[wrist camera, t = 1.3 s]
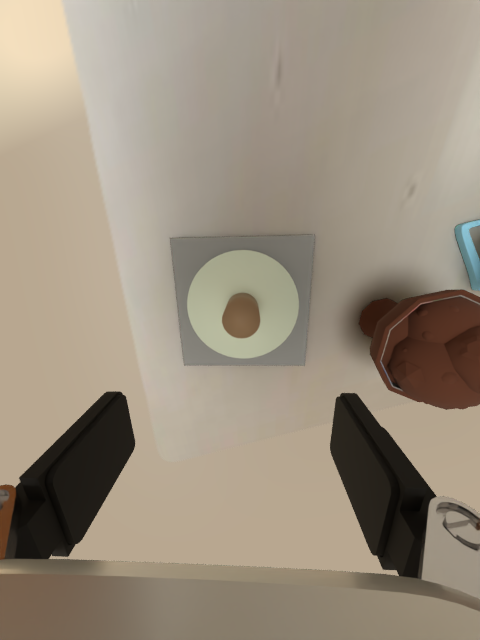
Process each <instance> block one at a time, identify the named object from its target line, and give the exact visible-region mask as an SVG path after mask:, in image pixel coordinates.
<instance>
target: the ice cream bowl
mask: <svg viewBox="0 0 480 640" xmlns="http://www.w3.org/2000/svg"><path fill="white" fill-rule="evenodd" d="M359 325H360V327H361V329H362V331H363V333H364V334H365V335H367V336H370V337H372V338H373V339H372V343H371V346H370V355H371V357H372V359H373V361H374V363H375V365H376V367H377V369H378V371H379V374H380V376H381V378H382V380H383V381H384V383H385V385H386V386H387V388H388V390H390V391H392V392H395V393H397V394H400V395H402V396H405V397H407V398H410V399H412V400H415V401H417V402H424V403H426V404H430V405H433V406H435V407H439V408H443V409H446V410H447V409H455V408H458V409H465V408H468V407H470V406H477V405H479V404H480V297H478V296H476V295H474V294H472V293H469V292H467V291H465V290H445V291H440V292H435V293H430V294H425V295H421V296H416V297H411V298H407V299H404V300H402V301H400V302H399V303H396V302H394V301H392V300H390V299H387V298H386V299H381V300H376V301H372V302H371V303H370V304H369V305H368V306H367V307H366V308H365V309H364V310H363V311H362V313H361V317H360V321H359Z"/></svg>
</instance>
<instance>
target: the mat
mask: <svg viewBox="0 0 480 640" xmlns="http://www.w3.org/2000/svg"><path fill="white" fill-rule="evenodd" d="M314 241H315V235H282V236H240V237H199V238H170V243H171V252H172V261H173V271H174V280H175V289H176V298H177V307H178V316H179V325H180V334H181V343H182V353H183V362H184V365H208V366H305V358H306V345H307V332H308V319H309V306H310V293H311V280H312V267H313V254H314ZM235 250H251V251H256V252H259V253H262V254H265V255H267V256H269V257H271V258H273V259H274V260H276V261H277V262H279V263H280V264H281V265H282V266H283V267H284V268H285V269H286V271H287V272H288V273H289V274H290V276H291V278H292V279H293V281H294V284H295V286H296V289H297V292H298V298H299V311H298V317H297V320H296V323H295V326H294V328H293V330H292V331H291V333H290V335H289V336H288V337H287V339H286V340H285V341H284V342H283V343H282V344H281V345H280V346H278V347H277V348H276V349H274V350H272V351H271V352H269V353H267V354H264V355H262V356H258V357H254V358H244V359H243V358H233V357H228V356H225V355H222V354H220V353H218V352H216V351H214V350H213V349H211V348H210V347H208V346H207V345H206V344H205V343H204V342H203V341H202V340H201V339H200V338H199V337H198V335H197V334H196V332H195V331H194V329H193V327H192V325H191V322H190V319H189V316H188V310H187V299H188V292H189V288H190V286H191V283H192V281H193V279H194V277H195V275H196V274H197V273H198V271H199V270H200V269H201V268H202V267H203V266H204V265H205V264H206V263H207V262H208V261H210V260H211V259H213V258H215V257H216V256H218V255H221V254H223V253H226V252H230V251H235Z"/></svg>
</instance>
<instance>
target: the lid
mask: <svg viewBox="0 0 480 640" xmlns="http://www.w3.org/2000/svg"><path fill="white" fill-rule="evenodd" d="M187 310H188V316H189V319H190V322H191V325H192V327H193V329H194V331H195V332H196V334H197V335H198V337H199V338H200V339H201V340H202V341H203V342H204V343H205V344H206V345H207V346H208V347H210V348H211V349H213V350H214V351H216V352H218V353H220V354H222V355H225V356H228V357H233V358H243V359H244V358H254V357H258V356H262V355H264V354H267V353H269V352H271V351H272V350H274V349H276V348H277V347H278V346H280V345H281V344H282V343H283V342H284V341H285V340H286V339H287V337H288V336H289V335H290V333H291V331H292V330H293V328H294V326H295V323H296V320H297V317H298V311H299V298H298V292H297V289H296V286H295V284H294V281H293V279H292V278H291V276H290V274H289V273H288V272H287V271H286V269H285V268H284V267H283V266H282V265H281V264H280V263H279V262H277V261H276V260H274V259H273V258H271V257H269V256H267V255H265V254H262V253H259V252H256V251H251V250H235V251H230V252H226V253H223V254H221V255H218V256H216V257H215V258H213V259H211V260H210V261H208V262H207V263H206V264H205V265H204V266H203V267H202V268H201V269H200V270H199V271H198V273H197V274H196V275H195V277H194V279H193V281H192V283H191V286H190V288H189V292H188V299H187Z"/></svg>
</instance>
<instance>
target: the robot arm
mask: <svg viewBox="0 0 480 640" xmlns="http://www.w3.org/2000/svg"><path fill="white" fill-rule="evenodd" d="M134 447H135V439H134V434H133V429H132V424H131V419H130V414H129V409H128V405H127V400H126V396H124V395H123V394H122V393H121V392H106V393H104V395H102V396H101V397H100V398H99V399H98V400H97V401H96V402H95V403H94V404H93V405H92V406H91V407H90V408H89V409H88V410H87V411H86V412H85V413H84V414H83V415H82V416H81V417H80V418H79V419H78V420H77V421H76V422H75V423H74V424H73V425H72V426H71V427H70V428H69V429H68V430H67V431H66V432H65V433H64V434H63V435H62V436H61V437H60V438H59V439H58V440H57V441H56V442H55V443H54V444H53V445H52V446H51V447H50V448H49V449H48V450H47V451H46V452H45V453H44V454H43V455H42V456H41V457H40V458H39V459H38V460H37V461H36V462H35V463H34V464H33V465H32V466H31V467H30V468H29V469H28V470H27V471H26V472H25V473H24V474H23V475H22V476H20V478H19V479H20V481H21V482H20V483H19V484H18V485H17V486H16V487H14V486H12V485H1V486H0V640H480V513H478V512H477V511H476V510H475V509H473V508H471V507H470V506H468V505H466V504H465V503H463V502H460V501H458V500H456V499H453V498H449V497H445V496H440V497H437V496H436V495H435V494H434V492H433V491H432V490H431V488H430V487H429V486H428V484H427V483H426V482H425V481H424V479H423V478H422V477H421V475H420V474H419V473H418V471H417V470H416V469H415V467H414V466H413V465H412V463H411V462H410V461H409V459H408V458H407V457H406V455H405V454H404V453H403V452H402V450H401V449H400V448H399V446H398V445H397V444H396V442H395V441H394V440H393V438H392V437H391V436H390V434H389V433H388V432H387V431H386V430H385V429H384V428H383V427H381V426H380V425H379V423H378V422H377V421H376V419H375V418H374V416H373V415H372V414H371V412H370V411H369V410H368V408H367V407H366V406H365V404H364V403H363V402H362V400H361V399H360V398H359V396H358V395H357V394H355V393H342V394H341V395H340V397H337V398H336V403H335V411H334V419H333V427H332V435H331V443H330V450H331V454H332V457H333V460H334V462H335V465H336V467H337V470H338V472H339V474H340V477H341V480H342V482H343V484H344V487H345V489H346V492H347V494H348V497H349V499H350V502H351V504H352V507H353V509H354V512H355V514H356V517H357V519H358V522H359V524H360V527H361V529H362V532H363V534H364V537H365V539H366V542H367V544H368V547H369V549H370V551H371V553H372V554H373V555H377V556H378V559H379V561H380V564H381V566H382V568H383V569H384V570H397V572H398V574H399V576H395V575H386V574H374V573H359V572H346V571H332V570H312V569H291V568H271V567H250V566H227V565H226V566H225V565H203V564H179V563H155V562H127V561H125V562H124V561H99V560H70V559H49V557H50V556H51V554H52V556H65V557H68V556H69V554H70V553H71V551H72V549H73V548H74V546H75V544H78V543H79V542H80V541H81V540H82V539H83V537H84V535H85V534H86V532H87V530H88V528H89V527H90V525H91V523H92V521H93V520H94V518H95V516H96V515H97V513H98V511H99V509H100V508H101V506H102V504H103V502H104V501H105V499H106V497H107V495H108V494H109V492H110V490H111V489H112V487H113V485H114V483H115V482H116V480H117V478H118V476H119V475H120V473H121V471H122V469H123V468H124V466H125V464H126V463H127V461H128V459H129V457H130V456H131V454H132V452H133V450H134Z"/></svg>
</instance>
